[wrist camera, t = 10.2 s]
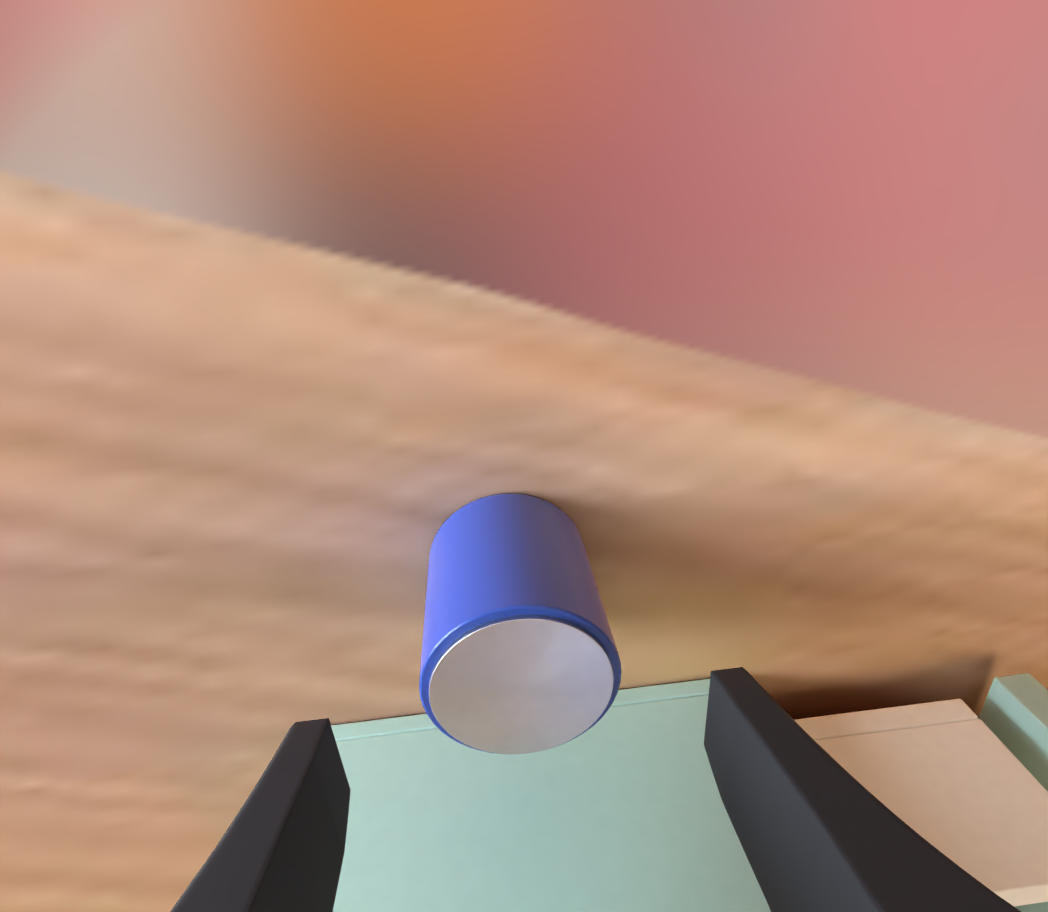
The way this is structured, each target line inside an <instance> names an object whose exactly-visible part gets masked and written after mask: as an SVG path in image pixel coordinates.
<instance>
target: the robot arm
mask: <svg viewBox="0 0 1048 912" xmlns="http://www.w3.org/2000/svg"><path fill="white" fill-rule="evenodd" d="M704 747H705V750H706V753H707V756H708V760H709V763H710V766H711V769H712V772H713V775H714V778H715V781H716V784H717V787H718V790H719V793H720V796H721V799H722V802H723V804H724V806H725V809H726V811H727V813H728V816H729V818H730V820H731V823H732V825H733V827H734V829H735V832H736V834H737V836H738V838H739V841H740V843H741V845H742V847H743V850H744V852H745V854H746V856H747V859H748V861H749V863H750V865H751V868H752V870H753V872H754V874H755V877H756V879H757V881H758V883H759V885H760V888H761V890H762V892H763V894H764V897H765V899H766V901H767V903H768V906H769V908H770V910H771V912H1021V911H1020V910H1018V909H1017V908H1015V907H1014V906H1012V905H1011V904H1010V903H1008V902H1007V901H1005V900H1004V899H1002V898H1001V897H1000V896H998V895H997V894H995V893H994V892H993V891H991V890H990V889H989V888H987V887H986V886H985V885H983V884H982V883H981V882H979V881H978V880H977V879H975V878H974V877H973V876H971V875H970V874H969V873H967V872H966V871H965V870H963V869H962V868H961V867H959V866H958V865H957V864H956V863H954V862H953V861H952V860H951V859H949V858H948V857H947V856H945V855H944V854H943V853H942V852H940V851H939V850H938V849H937V848H935V847H934V846H933V845H932V844H930V843H929V842H928V841H927V840H925V839H924V838H923V837H922V836H920V835H919V834H918V833H917V832H916V831H914V830H913V829H912V828H911V827H910V826H908V825H907V824H906V823H905V822H904V821H902V820H901V819H900V818H899V817H898V816H897V815H895V814H894V813H893V812H892V811H891V810H890V809H888V808H887V807H886V806H885V805H884V804H883V803H882V802H880V801H879V800H878V799H877V798H876V797H875V796H874V795H872V794H871V793H870V792H869V791H868V790H867V789H866V788H865V787H863V786H862V785H861V784H860V783H859V782H858V781H857V780H856V779H855V778H854V777H853V776H851V775H850V774H849V773H848V772H847V771H846V770H845V769H844V768H843V767H842V766H841V765H840V764H839V763H838V762H837V761H836V760H834V759H833V758H832V757H831V756H830V755H829V754H828V753H827V752H826V751H825V750H824V749H823V748H822V747H821V746H820V745H819V744H818V743H817V742H816V741H815V740H814V739H813V738H812V737H811V736H810V735H808V734H807V733H806V732H805V731H804V730H803V729H802V728H801V727H800V726H799V725H798V724H797V722H796V721H795V720H794V719H793V718H792V717H791V716H790V715H789V714H788V713H787V712H786V711H785V710H784V709H783V708H782V707H781V706H780V705H779V704H778V703H777V702H776V701H775V700H774V699H773V698H772V697H771V696H770V695H769V694H768V693H767V692H766V691H765V690H764V688H763V687H762V686H761V685H760V684H759V683H758V682H757V681H756V680H755V679H754V678H753V677H752V676H751V675H750V674H749V673H748V672H747V671H746V670H745V669H744V668H743V667H740V668H732V669H724V670H716V671H711V676H710V686H709V696H708V706H707V716H706V725H705V735H704ZM350 791H351V790H350V786H349V783H348V780H347V777H346V773H345V770H344V767H343V763H342V760H341V757H340V754H339V750H338V747H337V744H336V740H335V737H334V734H333V731H332V727H331V724H330V721H329V718H327V719H319V720H311V721H303V722H295V723H294V724H293V725H292V727H291V728H290V729H289V731H288V733H287V734H286V736H285V738H284V740H283V741H282V743H281V745H280V746H279V748H278V750H277V751H276V753H275V755H274V756H273V758H272V760H271V761H270V763H269V765H268V766H267V768H266V770H265V771H264V773H263V775H262V776H261V778H260V779H259V781H258V783H257V784H256V786H255V788H254V789H253V791H252V792H251V794H250V796H249V797H248V799H247V800H246V802H245V803H244V805H243V807H242V808H241V810H240V811H239V813H238V814H237V816H236V817H235V819H234V820H233V822H232V823H231V825H230V826H229V828H228V829H227V831H226V833H225V834H224V836H223V837H222V839H221V840H220V842H219V843H218V845H217V846H216V848H215V849H214V851H213V852H212V854H211V855H210V857H209V858H208V859H207V861H206V862H205V864H204V865H203V866H202V868H201V869H200V871H199V872H198V873H197V875H196V876H195V878H194V879H193V880H192V882H191V883H190V885H189V886H188V888H187V889H186V890H185V892H184V893H183V895H182V896H181V897H180V899H179V900H178V902H177V903H176V904H175V906H174V907H173V909H172V910H171V911H170V912H333V907H334V902H335V897H336V892H337V887H338V882H339V877H340V872H341V867H342V862H343V857H344V852H345V843H346V833H347V824H348V813H349V802H350Z"/></svg>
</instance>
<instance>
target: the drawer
mask: <svg viewBox="0 0 1048 912" xmlns="http://www.w3.org/2000/svg"><path fill="white" fill-rule="evenodd" d="M795 721H796V722H797V724H798V725H799V726H800V727H801V728H802V729H803V730H804V731H805V732H806V733H807V734H808V735H810V736H811V737H812V738H813V739H814V740H815V741H816V742H817V743H818V744H819V745H820V746H821V747H822V748H823V749H824V750H825V751H826V752H827V753H828V754H829V755H830V756H831V757H832V758H833V759H834V760H836V761H837V762H838V763H839V764H840V765H841V766H842V767H843V768H844V769H845V770H846V771H847V772H848V773H849V774H850V775H851V776H853V777H854V778H855V779H856V780H857V781H858V782H859V783H860V784H861V785H862V786H863V787H865V788H866V789H867V790H868V791H869V792H870V793H871V794H872V795H874V796H875V797H876V798H877V799H878V800H879V801H880V802H882V803H883V804H884V805H885V806H886V807H887V808H888V809H890V810H891V811H892V812H893V813H894V814H895V815H897V816H898V817H899V818H900V819H901V820H902V821H904V822H905V823H906V824H907V825H908V826H910V827H911V828H912V829H913V830H914V831H916V832H917V833H918V834H919V835H920V836H922V837H923V838H924V839H925V840H927V841H928V842H929V843H930V844H932V845H933V846H934V847H935V848H937V849H938V850H939V851H940V852H942V853H943V854H944V855H945V856H947V857H948V858H949V859H951V860H952V861H953V862H954V863H956V864H957V865H958V866H959V867H961V868H962V869H963V870H965V871H966V872H967V873H969V874H970V875H971V876H973V877H974V878H975V879H977V880H978V881H979V882H981V883H982V884H983V885H985V886H986V887H987V888H989V889H990V890H991V891H993V892H994V893H995V894H997V895H998V896H1000V897H1001V898H1002V899H1004V900H1005V901H1007V902H1008V903H1010V904H1011V905H1012V906H1014V907H1015V908H1017V909H1018V910H1020V911H1021V912H1048V690H1047V689H1046V688H1045V687H1044V686H1043V685H1042V684H1041V683H1040V682H1039V681H1038V680H1036V679H1035V678H1034V677H1033V676H1032V675H1031V674H1029V673H1025V674H1017V675H1009V676H1001V677H995V678H994V680H993V682H992V685H991V687H990V690H989V692H988V695H987V698H986V700H985V703H984V705H983V708H982V710H981V713H980V716H979V718H978V717H977V715H976V714H975V713H974V712H973V711H972V710H971V709H970V708H969V707H968V706H967V705H966V703H965V702H964V701H963V700H962V699H952V700H944V701H936V702H928V703H920V704H913V705H905V706H897V707H889V708H881V709H874V710H866V711H858V712H850V713H842V714H835V715H827V716H819V717H811V718H803V719H796V720H795Z"/></svg>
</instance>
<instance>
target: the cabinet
mask: <svg viewBox="0 0 1048 912" xmlns="http://www.w3.org/2000/svg"><path fill="white" fill-rule="evenodd" d="M709 686H710V679H702V680H694V681H686V682H678V683H670V684H662V685H654V686H646V687H638V688H630V689H622V690H618V693H617V695H616V697H615V700H614V702H613V703H612V705H611V707H610V708H609V710H608V711H607V712H606V713H605V715H604V716H603V717H602V718H601V719H600V720H599V721H598V722H597V723H596V724H595V725H594V726H593V727H591V728H590V729H589V730H587V731H586V732H585V733H583V734H582V735H580V736H578V737H577V738H575V739H573V740H571V741H569V742H567V743H565V744H562V745H559V746H557V747H554V748H551V749H547V750H543V751H539V752H533V753H527V754H496V753H489V752H483V751H479V750H476V749H472V748H469V747H467V746H464V745H462V744H460V743H458V742H456V741H454V740H453V739H451V738H449V737H448V736H447V735H445V734H444V733H443V732H441V731H440V730H439V729H438V728H437V727H436V726H435V725H434V724H433V722H432V721H431V720H430V718H429V717H428V715H427V714H419V715H411V716H403V717H395V718H387V719H379V720H371V721H363V722H355V723H346V724H338V725H331V727H332V731H333V734H334V737H335V740H336V744H337V747H338V750H339V754H340V757H341V760H342V763H343V767H344V770H345V773H346V777H347V780H348V783H349V786H350V790H351V791H350V802H349V813H348V824H347V833H346V843H345V852H344V857H343V862H342V867H341V872H340V877H339V882H338V887H337V892H336V897H335V902H334V907H333V912H771V910H770V908H769V906H768V903H767V901H766V899H765V897H764V894H763V892H762V890H761V888H760V885H759V883H758V881H757V879H756V877H755V874H754V872H753V870H752V868H751V865H750V863H749V861H748V859H747V856H746V854H745V852H744V850H743V847H742V845H741V843H740V841H739V838H738V836H737V834H736V832H735V829H734V827H733V825H732V823H731V820H730V818H729V816H728V813H727V811H726V809H725V806H724V804H723V802H722V799H721V796H720V793H719V790H718V787H717V784H716V781H715V778H714V775H713V772H712V769H711V766H710V763H709V760H708V756H707V753H706V750H705V747H704V735H705V725H706V716H707V706H708V696H709Z"/></svg>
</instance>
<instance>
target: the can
mask: <svg viewBox="0 0 1048 912" xmlns="http://www.w3.org/2000/svg"><path fill="white" fill-rule="evenodd" d="M620 681H621V662H620V658H619V655H618V651H617V648H616V645H615V642H614V639H613V635H612V632H611V629H610V626H609V623H608V620H607V616H606V613H605V610H604V607H603V604H602V601H601V598H600V594H599V591H598V588H597V585H596V582H595V579H594V575H593V572H592V569H591V566H590V563H589V560H588V557H587V553H586V550H585V547H584V544H583V541H582V538H581V535H580V533H579V531H578V528H577V527H576V525H575V524H574V522H573V521H572V520H571V519H570V518H569V516H568V515H567V514H566V513H564V512H563V511H562V510H561V509H560V508H558V507H556V506H555V505H553V504H552V503H550V502H547V501H545V500H543V499H540V498H537V497H534V496H530V495H524V494H513V493H510V494H497V495H491V496H487V497H484V498H480V499H478V500H475V501H473V502H471V503H469V504H467V505H465V506H463V507H462V508H460V509H459V510H458V511H456V512H455V513H453V514H452V515H451V516H450V517H449V518H448V519H447V520H446V521H445V522H444V524H443V525H442V526H441V527H440V529H439V530H438V532H437V534H436V536H435V538H434V540H433V543H432V546H431V550H430V556H429V569H428V581H427V594H426V606H425V619H424V631H423V644H422V656H421V669H420V682H419V690H420V698H421V701H422V704H423V707H424V709H425V711H426V713H427V715H428V717H429V718H430V720H431V721H432V722H433V724H434V725H435V726H436V727H437V728H438V729H439V730H440V731H441V732H443V733H444V734H445V735H447V736H448V737H449V738H451V739H453V740H454V741H456V742H458V743H460V744H462V745H464V746H467V747H469V748H472V749H476V750H479V751H483V752H489V753H496V754H527V753H533V752H539V751H543V750H547V749H551V748H554V747H557V746H559V745H562V744H565V743H567V742H569V741H571V740H573V739H575V738H577V737H578V736H580V735H582V734H583V733H585V732H586V731H587V730H589V729H590V728H591V727H593V726H594V725H595V724H596V723H597V722H598V721H599V720H600V719H601V718H602V717H603V716H604V715H605V713H606V712H607V711H608V710H609V708H610V707H611V705H612V703H613V702H614V700H615V697H616V695H617V693H618V689H619V686H620Z"/></svg>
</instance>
